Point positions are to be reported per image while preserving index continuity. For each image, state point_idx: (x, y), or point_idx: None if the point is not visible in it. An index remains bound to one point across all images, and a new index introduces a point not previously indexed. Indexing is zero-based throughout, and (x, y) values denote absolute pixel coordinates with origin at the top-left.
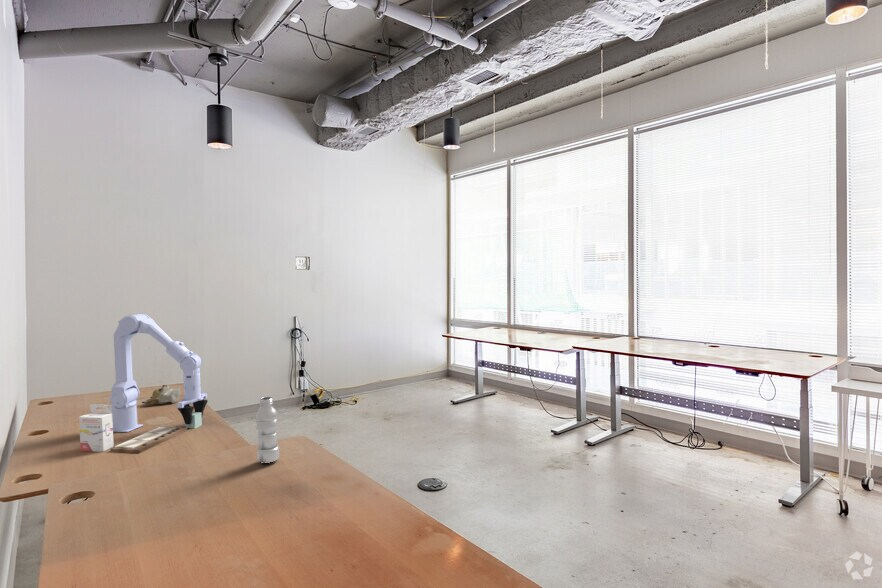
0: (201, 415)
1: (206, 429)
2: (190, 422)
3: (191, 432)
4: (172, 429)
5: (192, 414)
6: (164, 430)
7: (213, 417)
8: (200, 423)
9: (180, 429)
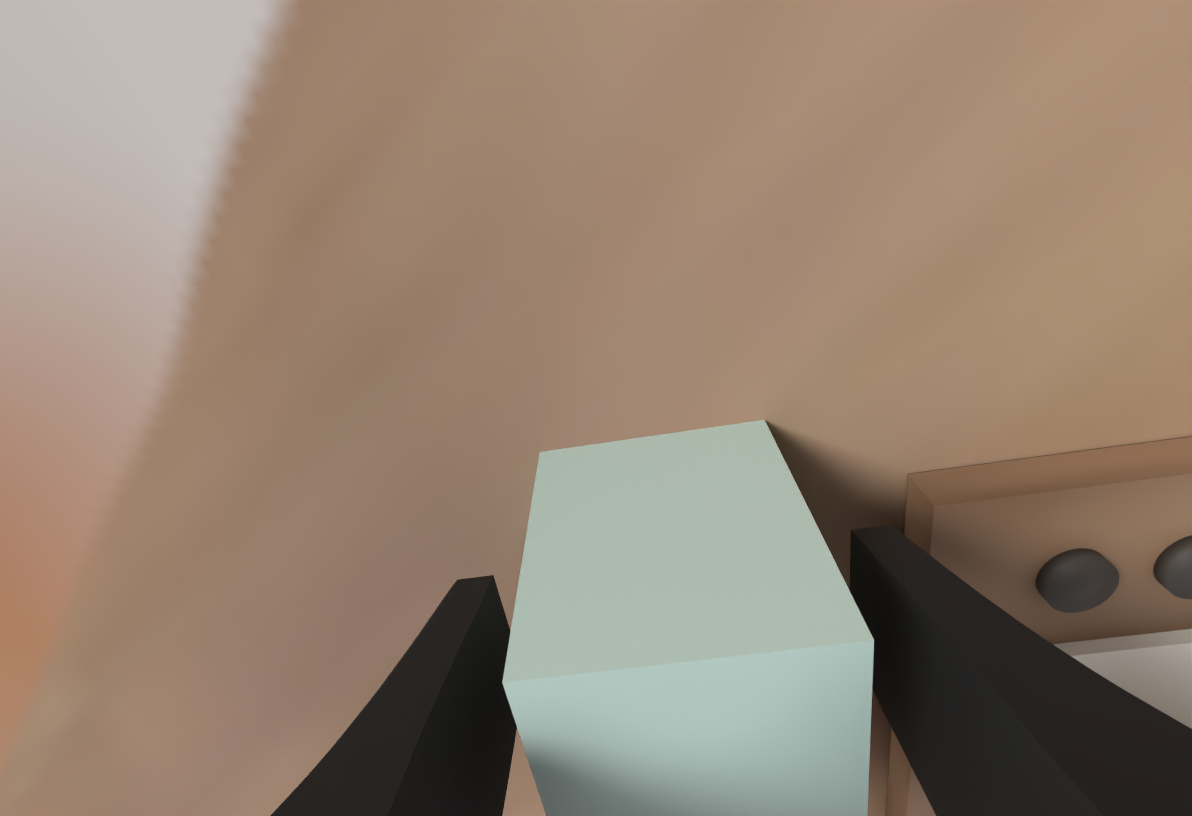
0: (520, 602)
1: (796, 79)
2: (906, 545)
3: (1049, 277)
4: (1094, 647)
5: (778, 753)
6: (1180, 709)
7: (94, 583)
8: (584, 470)
9: (1071, 532)
